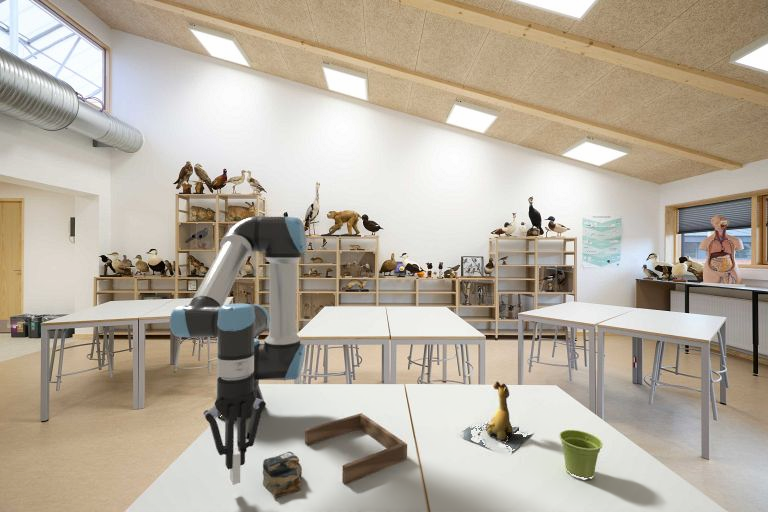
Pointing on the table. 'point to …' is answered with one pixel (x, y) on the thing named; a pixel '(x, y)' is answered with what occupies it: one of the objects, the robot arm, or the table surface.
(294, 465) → the rock
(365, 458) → the box
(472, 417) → the table surface
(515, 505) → the table surface
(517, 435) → the stuffed giraffe
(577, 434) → the plant pot
